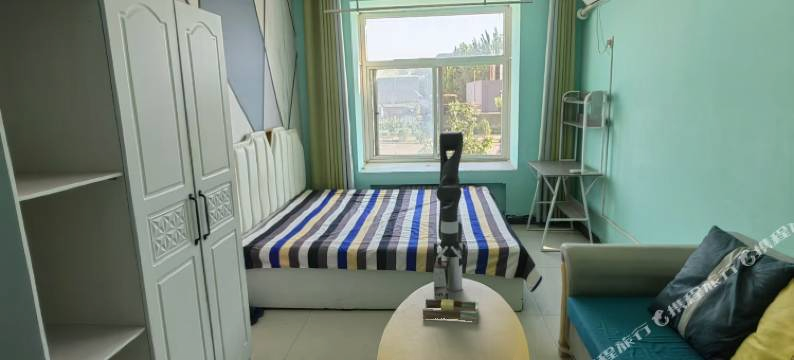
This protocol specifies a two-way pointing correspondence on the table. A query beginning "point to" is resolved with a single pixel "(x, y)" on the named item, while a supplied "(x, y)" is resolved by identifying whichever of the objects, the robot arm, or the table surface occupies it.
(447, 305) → the ochre block
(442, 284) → the coffee box
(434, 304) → the channel
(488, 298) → the table surface
